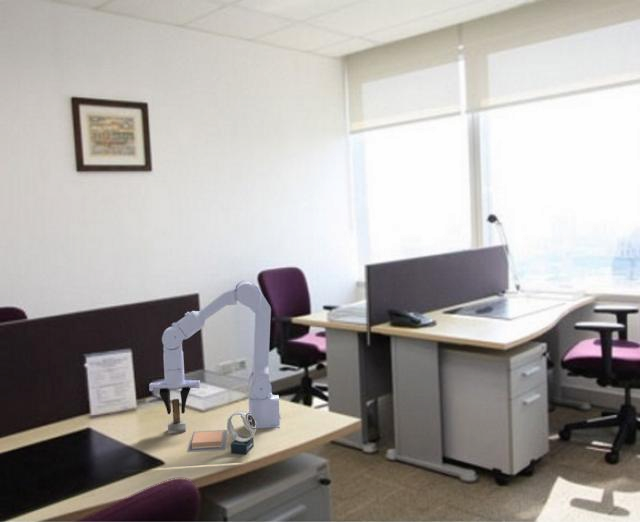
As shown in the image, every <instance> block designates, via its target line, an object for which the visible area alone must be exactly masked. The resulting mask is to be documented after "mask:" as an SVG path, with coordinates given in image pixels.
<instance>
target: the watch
mask: <svg viewBox="0 0 640 522" xmlns="http://www.w3.org/2000/svg"><path fill="white" fill-rule="evenodd" d="M234 416H240V418H241V419H242V423H243V425H244V427H245V428H246V430H247V431H248V432H249V433H250V436H239V435H238V432H237V430H235V427H234V425H233V422H232V420H233V419H232V418H233V417H234ZM257 429H258V428H257V422H256V420H255V418H254V416H253V415H252V414H251V413H249V411H245V410H238V411H236V412H234V413H232V414H231V415H230V416H229V417H228V419H227V423H226V430H228V431H227V432H228V433H229V435H230V437H231V439H232V440H233V441H232V442H231V443H230V453H231V454H234V455H248V454H249V452H250V451H251V450H252V449H253V448H254V445H255V444H254V436H255V434H256V432H257Z"/></svg>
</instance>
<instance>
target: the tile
mask: <svg viewBox="0 0 640 522" xmlns="http://www.w3.org/2000/svg"><path fill="white" fill-rule="evenodd" d="M209 431H210V432H199V431H194V432H195V434H194V437H193V440H192V449H195V448H210V447H221V446H222V440H223V431H215V430H209Z"/></svg>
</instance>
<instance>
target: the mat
mask: <svg viewBox="0 0 640 522" xmlns="http://www.w3.org/2000/svg"><path fill="white" fill-rule="evenodd" d="M210 431H211V430H203V431H202V430H201V431H198V432H210ZM214 431H223V440H222V446H221V447H210V448H195V449H192V440H193V437H194V434H195V432H196V431H193V433H192V436H191V440H190V441H189V445H188V448H187V453H193V452H195V453H196V452H209V451H210V452H211V451H223V450H226V443H227V438H228V437H227V436H228V432H229V431H228V429H217V430H214Z"/></svg>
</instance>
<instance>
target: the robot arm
mask: <svg viewBox="0 0 640 522" xmlns="http://www.w3.org/2000/svg"><path fill="white" fill-rule="evenodd" d="M238 303H240V304H241V305H243V306H245V307H247V308H249V309H250V310H251V311H252V312H253V313H254V333H253V334H254V336H253V337H254V338H253V359H252V361H253V362H252V363H253V364H252V369H251V374H250V375H249V378H248V385H249V387H250V392H249V394H248V413H251V414H252V415H253V416H254V418H255V420H256V422H257V428H256V429H263V428H265V429H266V428H278V429H279V428H280V427H281V423H280V422H281V421H280V420H281V412H280V400H279V399H280V398H279V397H280V396H279V394H273V393H272V390H273V389H272V384H271V381H270V369H269V363H270V362H269V360H270V359H269V358H270V342H271V341H270V337H271V336H270V335H271V318H272V317H271V315H272V308H271V306H270V304H269V302H268V301H267V299H266V297H265V296H264V295H263V293H262V292H261V290H260V288H259V287H258V286H257V285H255V284H254V283H253V282H252V281H250V280H246V279H245V280H241V281H238V283H237V284H236V285H235V284H234V285H232V286H231V287H229V288H228V289H225V290H224V291H223V292H222V293H220V294H219V295H218V296H217V297H215V298H214V299H213V300H212V301H211V302H209V303H208V304H207V305H205V306H204V307H203V308H201V309H200V310H199V311H197V310H192V311H187V312H186V313H184V317H182V318H181V319H179V320H177V321H176V322H173V323H171V326H169V327H167V328H166V329H165V330H164V331H163V333H162V337H161V342H162V344H163V345H162V346H163V348H162V349H163V370H164V371H163V372H164V373H163V374H164V376H163V377H164V380H163V381H157V382H150V383H149V385H148V386H149V388H148V389H149V392H154V391H159V392H158V394H159V397H160V398H161V400H162V402H163V405H164V406H165V409H166V411H167V415H171V414H172V403H171V390H180V400H181V401H180V402H181V403H180V404H181V409H180V410H181V412H180V413H181V414H185V412H186V403H187V400H188V397H189V393H190V391H191V389H200V388H201V380H199V379H198V380H197V379H196V380H195V379H193V380H191V379H185V362H184V351H183V340H187V339H189V338H191V337H192V336H193V335H194V334H195V333H197V332H198V331H200V330H201V329H203V328H204V327H205V324H206V320H208V319H209V318H211V317H212V316H213V315H215V314H216V313H218V312H219V311H221V310H222V309H224V308H225V307H227V306H237V305H238Z"/></svg>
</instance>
